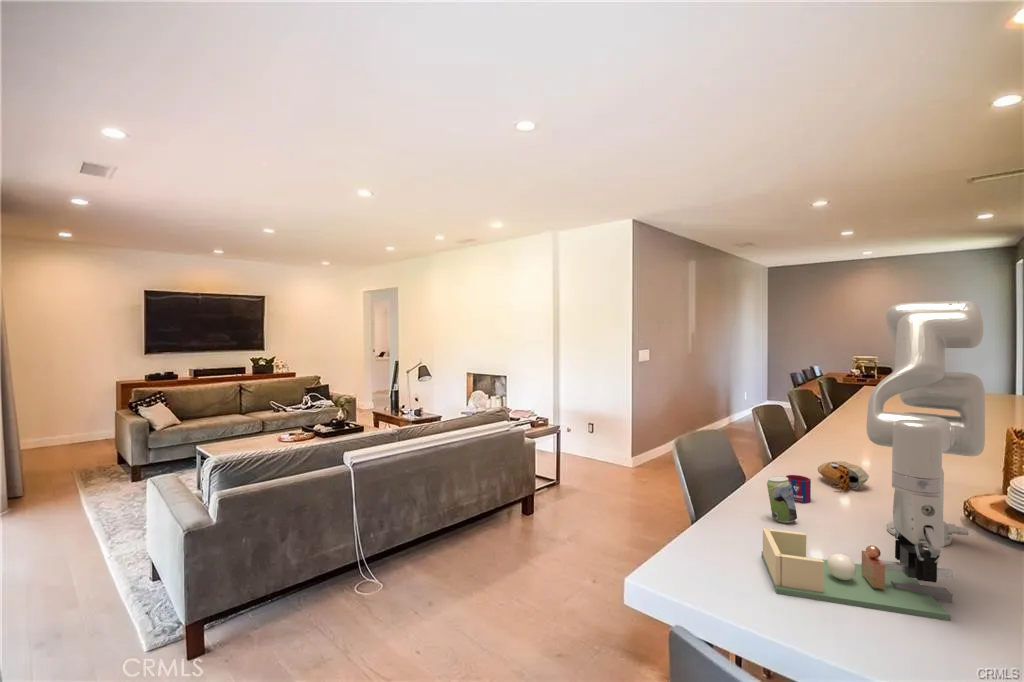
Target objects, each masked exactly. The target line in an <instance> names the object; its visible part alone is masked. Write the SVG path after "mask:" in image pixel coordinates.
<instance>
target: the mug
mask: <svg viewBox="0 0 1024 682" xmlns="http://www.w3.org/2000/svg"><path fill="white" fill-rule="evenodd" d="M785 477H787V478H788V480H789V481H790V482H791V484H792V490H793V495H794V501H795V503H798V504H809V503H810V502H811V494H812V493H811V492H812V491H811V488H812V487H811V486H812V485H811V484H812V479H811V478H810V477H807V476H804V475H797V474H788V475H787V474H786V475H785Z"/></svg>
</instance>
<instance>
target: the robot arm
mask: <svg viewBox="0 0 1024 682" xmlns="http://www.w3.org/2000/svg"><path fill="white" fill-rule="evenodd" d="M885 320H886V326H887V328H888V332H889V335H890V336H891V337H892V340H893V341H894V344H895V356H894V357H895V358H894V370H893V372H891V373H890V374H888V375H887V376H886V377H884V378H882V380H880V381H879V382H878V384H877V385H876V386H875V387H874V388H873V390H872V392H871V393H870V396H869V399H868V403H867V415H866V424H865V425H866V434H867V435H866V436H867V437H868V439H869V441H871V443H873V444H874V445H877V446H881V447H887V448H891V449H892V451H891V456H892V457H891V458H892V459H891V462H892V463H891V487H892V488H893V489H894V494H893V506H892V520H893V521H890V522H888V523H887V524H886V530H887V531H888V533H890V534H891V535H893V536H894V538H895V540H894V542H895V543H894V546H895V547H894V549H895V550H894V558H895V559H896V560H897V561H900V544H901V545H909V546H915V548H916V553H917V557H918V559H917V558H915V579H916V580H917V581H918V582H919V581H920V582H928V583H937V580H938V577H937V567H938V563H939V558H940V557H941V555H940V554H941V552H942V549H943V548H944V547H945V546H948V545H950V544H952V535H954V534H956V535H958V536H959V535H960V536H968V535H969V529H968V528H967V527H965V526H958V525H957V526H956V524H955V523H947V522H945V520H944V503H945V502H944V501H945V499H944V496H945V495H944V494H945V492H944V488H945V487H944V486H945V485H944V483H945V472H944V469H943V454H945V455H946V454H947V455H954V456H960V457H961V456H963V457H977V456H979V455H981V454H983V451H984V449H985V445H986V395H985V393H986V391H985V386H984V383H983V381H982V379H981V378H980V377H979V376H978V375H976V374H974V373H971V372H964V371H963V372H962V371H946V366H945V364H946V362H945V361H946V353H945V351H946V349H975V348H976V347H978V346H980V344H981V343H982V341H983V337H984V322H983V317H982V312H981V309H980V307H979V306H978V304H977V303H975V302H973V301H970V300H952V301H951V300H949V301H947V300H946V301H944V300H943V301H917V302H916V301H915V302H913V301H912V302H901V303H898V304H893V305H892V306H889V308H887V310H886V312H885ZM898 394H899V399H900V401H901V402H902V403H903V404H905V405H906V406H909V407H915V408H923V409H934V410H947V411H955V412H957V413H958V414H959V416H957V415H946V414H938V413H927V412H895V411H894V412H893V411H884V406H885V404H886V402H887V401H888V400H890V399H891V398H893V397H895V396H897V395H898ZM921 547H922V548H923V549H925V551H924V553H923V552H922V548H921Z"/></svg>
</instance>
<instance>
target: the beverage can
mask: <svg viewBox="0 0 1024 682" xmlns="http://www.w3.org/2000/svg"><path fill="white" fill-rule="evenodd" d="M766 482H767V483H766V486H767V492H768V499H769V503H770V509H771V515H772V516H771V517H772V518H773V520H776V521H777V522H780V523H786V524H787V523H793V522H795V521H796V520H797V519H798V514H797V513H798V512H797V509H796V502H795V501H794V495H793V490H792V484H791V482H790V481H789V480H788V478H787V477H786V476H783V475H775V476H774V475H773V476H769V477H768V480H767V481H766Z"/></svg>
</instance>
